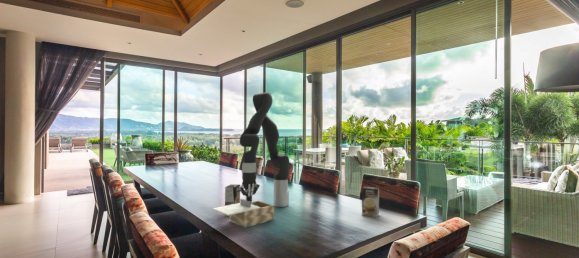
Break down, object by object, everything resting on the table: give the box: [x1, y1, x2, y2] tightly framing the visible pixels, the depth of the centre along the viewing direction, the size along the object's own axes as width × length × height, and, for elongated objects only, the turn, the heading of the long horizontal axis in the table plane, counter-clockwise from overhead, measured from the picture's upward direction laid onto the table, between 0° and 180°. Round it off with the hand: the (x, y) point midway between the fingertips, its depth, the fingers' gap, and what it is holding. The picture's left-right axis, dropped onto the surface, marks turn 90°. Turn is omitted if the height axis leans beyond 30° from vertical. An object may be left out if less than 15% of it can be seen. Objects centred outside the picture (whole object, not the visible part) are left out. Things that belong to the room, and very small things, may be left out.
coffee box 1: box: [224, 184, 241, 206], centre depth 175 cm, size 9×6×16 cm
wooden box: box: [229, 200, 275, 228], centre depth 161 cm, size 19×14×8 cm
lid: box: [212, 198, 260, 217], centre depth 154 cm, size 20×15×4 cm
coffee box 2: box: [361, 185, 380, 218], centre depth 173 cm, size 9×6×16 cm
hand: (249, 203), depth 159 cm, fingers closed
